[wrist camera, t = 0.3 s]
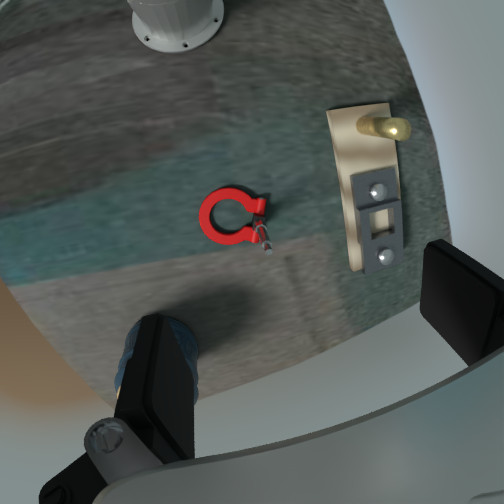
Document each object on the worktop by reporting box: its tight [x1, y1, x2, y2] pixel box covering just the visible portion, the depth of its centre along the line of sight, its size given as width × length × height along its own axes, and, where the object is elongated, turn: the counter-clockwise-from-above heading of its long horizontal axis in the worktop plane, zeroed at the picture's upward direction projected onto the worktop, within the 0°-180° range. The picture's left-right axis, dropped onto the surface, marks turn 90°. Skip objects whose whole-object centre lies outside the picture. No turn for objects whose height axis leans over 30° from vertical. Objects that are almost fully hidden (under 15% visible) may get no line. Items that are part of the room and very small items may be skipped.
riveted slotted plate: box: [350, 167, 403, 275], centre depth 46 cm, size 16×8×3 cm, turn 13°
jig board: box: [326, 103, 401, 271], centre depth 46 cm, size 26×10×2 cm, turn 13°
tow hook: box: [199, 187, 273, 255], centre depth 40 cm, size 8×13×9 cm
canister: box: [114, 316, 199, 405], centre depth 45 cm, size 13×13×18 cm
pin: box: [356, 117, 411, 141], centre depth 36 cm, size 3×3×10 cm
